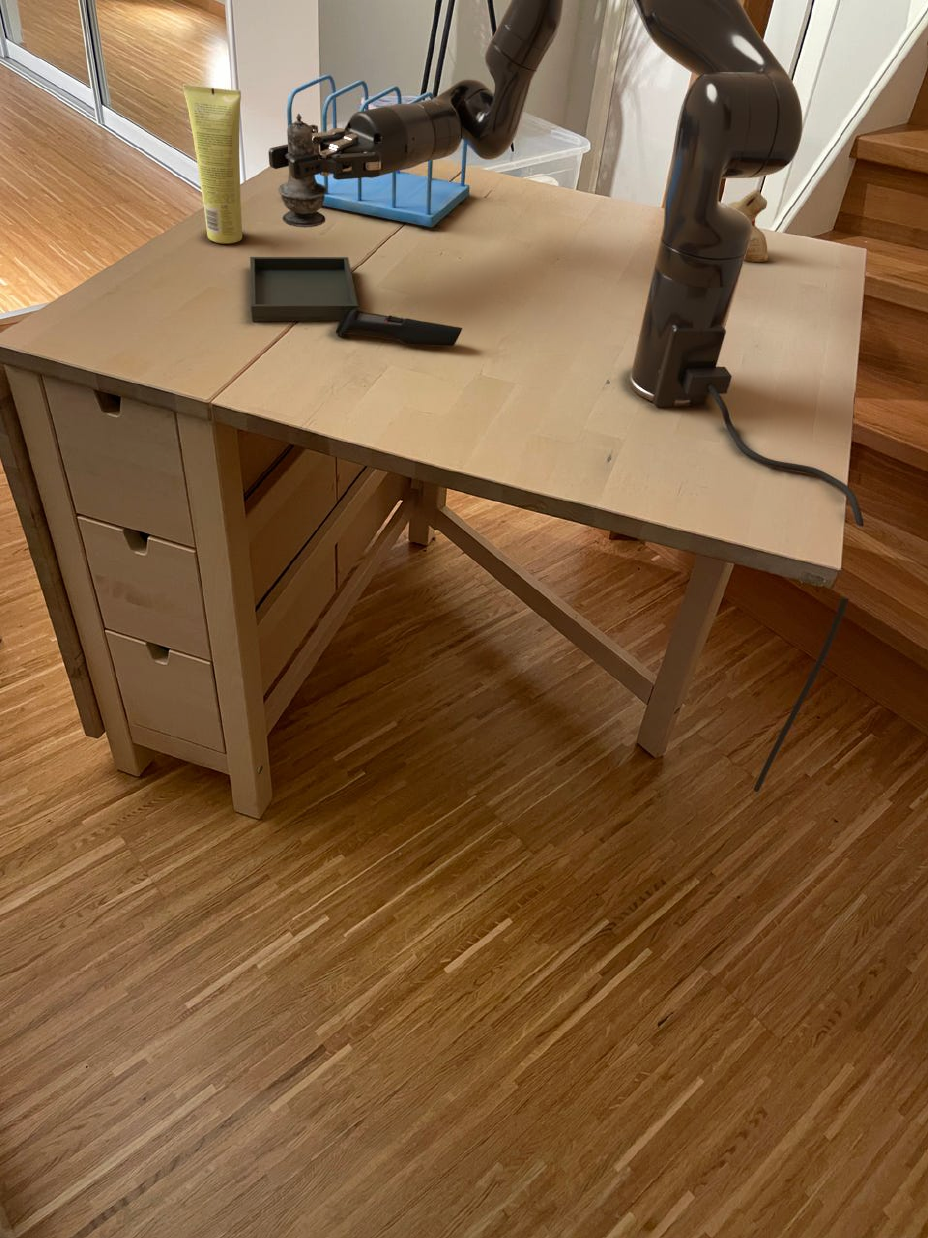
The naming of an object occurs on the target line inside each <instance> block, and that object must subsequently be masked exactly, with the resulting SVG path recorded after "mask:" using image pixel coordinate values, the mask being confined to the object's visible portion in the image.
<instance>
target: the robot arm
mask: <svg viewBox="0 0 928 1238" xmlns="http://www.w3.org/2000/svg"><path fill="white" fill-rule="evenodd" d="M632 1H633V4H634V7H635V9H636V11H637V14H638V17H639V18H640V20H641V23H642V24H643V27H644V30H645V31H646V33H647V35H648V36H649V37H650V39H651V40H652V42H653V43H654V44H655V45H656V46H657V47H658V48H659V49H660V50H661V51H662V52H663V53H665V54H666V55H667V56H668V57H670V59H672V60H673V61H675V63H677V64H679V65H680V66H682V68H685V69H686V70H687V71H689V72H691V73H692V74H693V75H695V76H696V78H695V80H693V82H692V83H691V84H690V86H689V88H688V89H687V91H686V93H685V95H684V98H683V102H682V104H681V107H680V110H679V115H678V119H677V124H676V130H675V135H674V142H673V147H672V154H671V161H670V166H669V173H668V177H667V184H666V190H665V196H664V206H663V209H664V210H663V211H664V212H663V225H662V231H661V235H660V240H659V243H658V249H657V253H656V257H655V263H654V266H653V270H652V271H653V272H652V276H651V281H650V285H649V289H648V294H647V298H646V303H645V308H644V313H643V317H642V321H641V326H640V331H639V334H638V340H637V344H636V350H635V354H634V358H633V359H634V360H633V364H632V368H631V370H630V373H629V378H628V383H629V386H630V388H631V389H632V390H633V392H635V393H636V394H637V395H638V396H640V397H642V398H644V399H646V400H648V401H650V402H652V403H653V405H654V406H655V407H657V408H662V407H664V408H665V407H666V408H667V407H668V408H669V407H699V406H706V405H707V404H706V403H707V400H708V396H709V395H711V396H712V398H713V399H714V400H715V402H716V404H717V406H718V407H719V409H720V411H721V415H722V418H723V422H724V424H725V427H726V429H727V431H728V432H729V434H730V436H731V438H732V440H733V441H734V442H735V445H736V446H737V448H738V449H739V450H740V451H741V452H742V453H743V454H744V455H746V456H748V457H749V458H751V459H752V460H754V461H757V462H758V463H760V464H763V465H766V466H769V467H773V468H777V469H780V470H781V469H782V470H787V471H788V470H789V471H795V472H800V473H805V474H809V475H813V476H815V477H818V478H820V479H822V480H824V481H825V482H827V483H829V484H830V485H832V486H834V487H836V488H837V489H838V490H840V491H841V492H842V493H843V494H844V495H845V496H846V498H847V500H848V501H849V504H850V506H851V509H852V513H853V516H854V520H855V524H856V525H857V526H859V527H864V526H865V523H864V518H863V514H862V511H861V508H860V507H861V506H860V505H859V502H858V500H857V497H856V496H855V493H854V492H853V491H852V489H851V488H850V487H849V486H848V485H847V484H845V483H844V482H843V481H841V480H839V479H838V478H836V477H834V476H833V475H830V474H829V473H827V472H825V471H823V470H821V469H818V468H816V467H812V466H808V465H803V464H798V463H793V462H792V463H791V462H786V461H780V460H775V459H772V458H768V457H766V456H764V455H761V454H759V453H758V452H756V451H754V450H753V449H751V448H749V447H748V446H747V445H746V444H745V443H744V441H742V439H741V438H740V436H739V434H738V432H737V431H736V429H735V426H734V425H733V422H732V420H731V416H730V412H729V409H728V408H727V405H726V402H724V400H723V398H722V396H721V395H727V393H728V392H729V391H728V390H729V387H730V384H731V381H732V378H733V377H732V376H733V375H732V374H731V373H730V371H729V370H728V369H727V367H726V366H717V365H718V362H719V358H720V354H721V351H722V348H723V344H724V340H725V337H726V333H727V330H726V325H727V322H728V318H729V315H730V312H731V308H732V306H733V305H732V304H733V301H734V297H735V294H736V290H737V286H738V283H739V280H740V277H741V273H742V270H743V266H744V263H745V261H744V259H745V256H746V252H747V249H748V246H749V242H750V239H751V235H752V223H751V221H750V219H749V218H748V217H747V216H746V215H745V214H743V213H742V212H740V211H739V210H737V209H735V208H733V207H731V206H728V205H729V204H726V203H723V202H722V201H719V197H720V188H721V184H722V179H751V178H761V177H767V176H771V175H774V174H776V173H779V172H781V171H782V170H784V169H785V168H786V167H787V166H788V165H789V164H790V163H791V162H792V161H793V159H794V158H795V156H796V155H797V152H798V150H799V147H800V144H801V141H802V135H803V127H804V125H803V110H802V104H801V101H800V96H799V94H798V91H797V89H796V86H795V84H794V82H793V80H792V79H791V77H790V75H789V74H788V72H787V71H786V70H785V68H784V67H783V66H782V64H781V63H780V62H779V60H778V58H776V56H775V55H774V53H773V52H772V51H771V49H770V48H769V46H768V45H767V44H766V43H765V41H764V39H763V38H762V37H761V35H760V33H759V32H758V31H757V30H756V27H755V26H754V24H753V22H752V21H751V18H750V17H749V15H748V14H747V11H746V9H745V8H744V6H743V5H742V3H741V1H740V0H632ZM564 5H565V0H510V2H509V5H508V6H507V8H506V10H505V12H504V14H503V16H502V18H501V20H500V22H499V25H498V26H497V28H496V30H495V32H494V34H493V36H492V38H491V40H490V42H489V44H488V46H487V48H486V51H485V54H484V63H485V66H486V68H487V70H488V71H489V73H490V76H491V78H492V80H493V83H494V91H493V92H492V90H491V89H490V88H489V87H488V86H487V85H486V84H484V82H482V81H480V80H477V79H473V78H472V79H471V78H466V79H461V80H459V81H458V82H456V83H455V84H453V85H452V86H450V87H449V88H447V89H446V90H444V91H443V92H441V93H440V94H439V95H437V96H434V99H432V100H431V99H428V100H422V101H420V102H417V103H412V104H407V103H402V104H398V103H396V104H391V105H386V106H381V107H376V108H371V109H369V110H364V111H360V112H359V111H357V112H355V113H353V114H352V115H351V117H350V118H349V120H348V121H347V124H346V125H345V127H344V128H342V127H337V128H335V129H333V128H331V129H330V130H327V132H323V131H320V132H319V126H318V125H316V124H310V125H309V124H308V125H309V126H310V128H311V130H312V145H313V153H312V154H308V155H303V156H299V157H294V158H292V159H291V160H290V174H291V177H293V178H295V179H301V178H305V177H310V176H314V175H318V174H319V173H320V175H321V176H329V175H331V174H333V178H334V179H337V180H340V179H351V178H364V177H368V178H374V177H378V176H382V175H386V174H389V173H393V172H397V171H400V172H402V171H405V170H409V169H412V168H415V167H418V166H419V165H422V164H424V163H426V162H427V163H428V161H432V160H433V161H436V160H441V159H444V158H447V157H449V156H450V155H451V156H452V155H454V153H455V152H457V151H458V149H459V148H460V147H461V143H462V141H464V142H465V143H466V144H467V147H469V148H470V149H471V150H472V151H473V153H474V154H476V155H477V156H478V157H480V158H481V159H483V160H486V161H489V160H490V161H491V160H495V159H498V158H499V157H501V156H502V155H503V154H504V153H506V152H507V151H508V150H509V148H510V147H511V146H512V144H513V142H514V141H515V139H516V137H517V134H518V133H519V129H520V125H521V121H522V117H523V114H524V110H525V107H526V104H527V100H528V96H529V93H530V89H531V85H532V82H533V79H534V77H535V75H536V74H537V73H538V70H539V68H540V67H541V64H542V62H543V61H544V59H545V57H546V56H547V53H548V51H549V50H550V48H551V46H552V44H553V42H554V40H555V39H556V37H557V34H558V32H559V28H560V26H561V21H562V16H563V12H564ZM287 153H289V152H288V143H287V144H283V145H278V146H273V147H270V148H269V149H268V164H269V167H270V168H273V170H278V169H283V168H286V167H288V168H289V163H288V159H287V158H286V154H287ZM849 600H850V598H849V597H848V598H842V599H840V602H839V605H838V608H837V611H836V613H835V616H834V619H833V621H832V624H831V627H830V629H829V632H828V635H827V636H826V639H825V642H824V644H823V646H822V649H821V650H820V653H819V655H818V657H817V659H816V661H815V664H814V665H813V668H812V670H811V672H810V674H809V676H808V678H807V680H806V682H805V684H804V685H803V688H802V690H801V692H800V695H798V698H797V700H796V702H795V704H794V706H793V708H792V710H791V712H790V713H789V716H788V717H787V719H786V721H785V724H784V725H783V727H782V729H781V731H780V733H779V735H778V737H777V739H776V741H775V743H774V744H773V747H772V749H771V751H770V753H769V755H768V757H767V760H766V762H765V763H764V765H763V768H762V770H761V772H760V774H759V776H758V778H757V780H756V782H755V785H754V787H753V791H754V792H755V793H759V792H760V790H761V788H762V786H763V784H764V781H765V779H766V777H767V774H768V772H769V770H770V768H771V767H772V765H773V762H774V760H775V758H776V756H777V754H778V752H779V751H780V748H781V747H782V744H783V742H784V741H785V739H786V736H787V735H788V733H789V731H790V729H791V727H792V725H793V724H794V721H795V720H796V717H797V716H798V713H799V712H800V710H801V708H802V706H803V704H804V702H805V700H806V698H807V697H808V694H809V693H810V692H811V691H810V690H811V688H812V686H813V684H814V683H815V681H816V678H817V676H818V674H819V673H820V671H821V668H822V666H823V664H824V662H825V660H826V658H827V656H828V654H829V651H830V649H831V646H832V644H833V641H834V640H835V638H836V635H837V633H838V630H839V628H840V624H841V622H842V619H843V617H844V614H845V611H846V609H847V605H848V602H849Z"/></svg>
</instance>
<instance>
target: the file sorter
mask: <svg viewBox="0 0 928 1238" xmlns="http://www.w3.org/2000/svg"><path fill="white" fill-rule="evenodd" d="M326 80H328V81H329V82H330V85H331V94H329V95H328V96H327V97H326V98H325V101H324V104H323V108H322V115H321V117H322V119H321V124H322V127H321V129H322V132H328V127H327V126H328V124H327V123H328V122H327V119H328V109H329V105H330V103H331V102H332V104H331V107H332V129H335V128H338V121H337V120H338V119H337V98H338V97H340V96H342V95H344V94H345V93H347V92H349V91H352V90H353V89H356V88H358V87H360V86H362V88H363V92H364V101H363V102H362V103H361V105H360V107H359V111H358V112H360V111H365V110H370V109H369V108H370V106H369V105H370V104H372V103H374V102H376V101H378V100H380V99H381V98H383V97H385V96H387V95H388V94H391V93H393V92H395V93H396V97H397V104H403V101H402V100H403V99H402V93H401V89H400V87H399V86H397V85H393V86H391V87H388V88H386V89H384V90H383V91H381V92H378V93H377V94H375V95H373V96H371V97H369V88H368V85H367V82H366V81H365V80H357V81H355V82H353V83H351V84H349V85H347V86H344V87H343V88H341V89H338V90H337V91H336V83H335V80H334V77H333V76H331V75H330V74H324V75H321V76H319V77H316V78H314V79H312V80H310V81H308V82H305V83H304V84H301V85H299V86H297V87H295V88H293V90H291V91H290V94H289V96H288V99H287V107H286V117H287V118H286V119H287V128H288V127H289V125H290V124H292V123H293V118H292V117H293V116H292V107H293V102H294V98H295V96H296V95H297V94H298V93H301V92H302V91H304V90H306V89H308V88H310V87H313V86H315V85H317V84H319V83H322V82H324V81H326ZM427 98H429V100H432V99H434V98H435V95H434V94H433V92H431V91H427V92H425V93H423V94H421V95H419V96H417V97H415V98H413V99H412V100H411V101H409V102H407V103H406V104H412V103H417V102H422V101H424V100H425V99H427ZM462 141H463V140H462ZM467 152H468V145H467V144H466V143H465V142H464V141H463V142H462V155H461V156H462V157H461V158H462V159H461V172H460V182H456V181H451V180H446V179H441V178H435V177H433V170H434V169H433V165H434V164H433V163H434V160H432V161H428V162H427V176H425V175H420V174H416V173H410V172H404V171H397V172H393V173H389V174H386V175H382V176H378V177H374V178H368V177H364V178H351V179H340V180H337V179H334V178H333V174H331V175H329V176H321V175H320V173H319V174H318V175H315V179H316V182H317V183H319V184H321V185H323V186H324V187H325V188H326V189H327V193H326V194H325V195H324V202H323V205H322V207H327V208H333V209H338V210H344V211H349V212H354V213H359V214H364V215H369V216H374V217H378V218H383V219H388V220H394V221H398V222H404V223H409V224H413V225H418V226H423V227H429V228H434V227H435V225H436V224H438V223H439V222H440V221H441V220H442V219H443V218H444V217H446V216H447V215H448V214H449V213H451V211H452V210H453V209H455V208H456V207H457V206H458V205H459V204H460V203H461V202H463V201H464V200H465V199H466V198H467V197H468V196H469V195H470V184H466V171H467V170H466V168H467V167H466V166H467V154H468V153H467Z"/></svg>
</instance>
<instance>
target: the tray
mask: <svg viewBox="0 0 928 1238" xmlns="http://www.w3.org/2000/svg"><path fill="white" fill-rule="evenodd" d="M249 265H250V266H249V270H250V271H249V276H250V280H249V281H250V312H251V322H340V321H341V319H342V317H343V316H344V314H345V312H346V311H347V309H348V310H350V311H352V310H354V309H356V308H357V309H359V304H358V299H357V295H356V290H355V285H354V280H353V279H354V278H353V274H352V270H351V265H350V259H349V257H348V256H250V257H249Z"/></svg>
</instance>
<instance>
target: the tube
mask: <svg viewBox="0 0 928 1238" xmlns="http://www.w3.org/2000/svg"><path fill="white" fill-rule="evenodd" d="M182 88H183V90H182V91H183V93H184V94H183V95H184V97H185V101H186V106H187V111H188V115H189V121H190V126H191V133H192V137H193V143H194V151H195V155H196V161H197V162H196V163H197V168H198V174H199V175H198V176H199V182H200V190H201V196H202V197H201V198H202V205H203V212H204V220H205V227H206V236H207V239H209V240H210V241H212V242H214V243H216V244H217V243H218V244H234V243H237V242H240V241H241V240H242V239H243V224H242V222H243V221H242V220H243V219H242V199H241V196H242V195H241V167H240V166H241V165H240V164H241V163H240V162H241V161H240V116H241V115H240V113H241V99H242V92H241V90H239V89H229V88H228V89H227V88H219V87H210V86H201V85H194V84H185V83H183V84H182Z"/></svg>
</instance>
